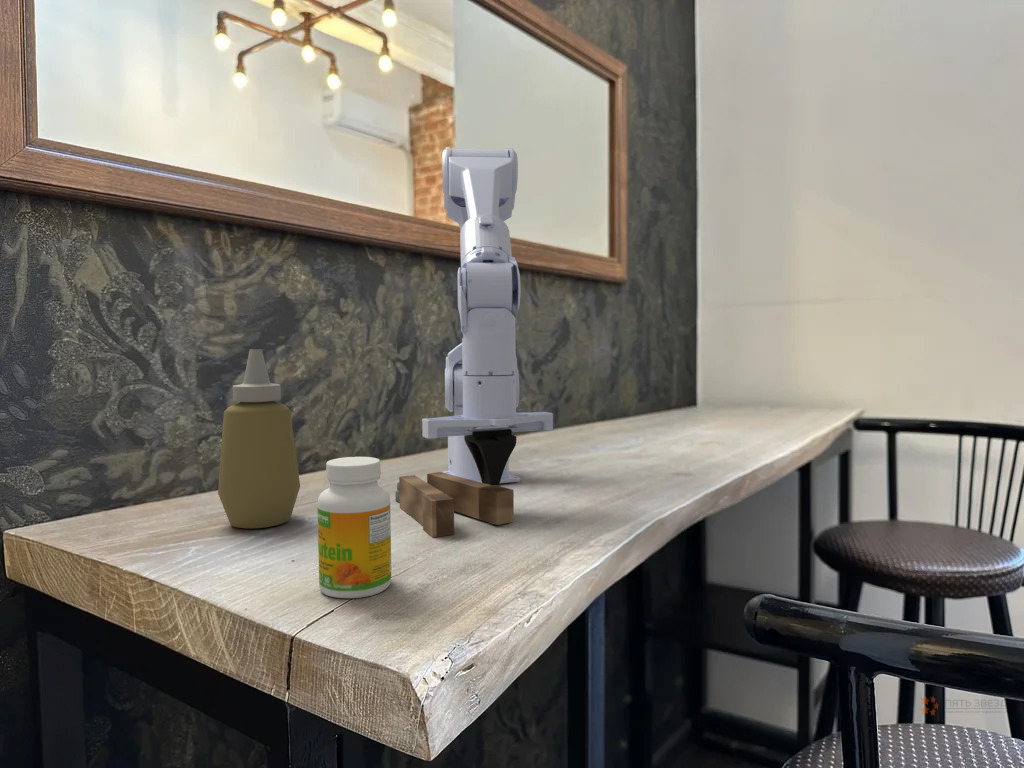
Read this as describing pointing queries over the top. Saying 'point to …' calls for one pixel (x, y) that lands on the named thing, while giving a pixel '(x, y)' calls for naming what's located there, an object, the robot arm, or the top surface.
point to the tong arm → (476, 497)
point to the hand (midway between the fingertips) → (490, 500)
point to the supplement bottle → (354, 530)
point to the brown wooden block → (426, 505)
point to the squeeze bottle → (258, 452)
